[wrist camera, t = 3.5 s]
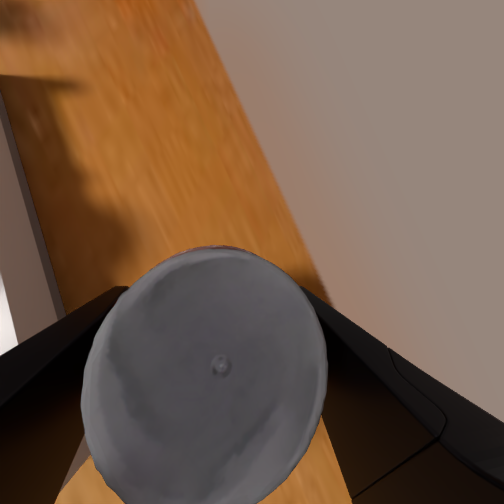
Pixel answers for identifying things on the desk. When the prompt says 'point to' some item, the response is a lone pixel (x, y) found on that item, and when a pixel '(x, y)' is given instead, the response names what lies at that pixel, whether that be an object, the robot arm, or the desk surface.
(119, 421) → the supplement bottle
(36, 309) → the pusher lane
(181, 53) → the desk surface
